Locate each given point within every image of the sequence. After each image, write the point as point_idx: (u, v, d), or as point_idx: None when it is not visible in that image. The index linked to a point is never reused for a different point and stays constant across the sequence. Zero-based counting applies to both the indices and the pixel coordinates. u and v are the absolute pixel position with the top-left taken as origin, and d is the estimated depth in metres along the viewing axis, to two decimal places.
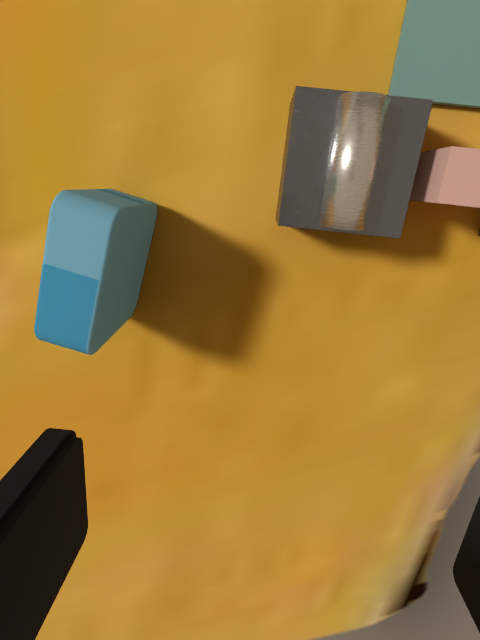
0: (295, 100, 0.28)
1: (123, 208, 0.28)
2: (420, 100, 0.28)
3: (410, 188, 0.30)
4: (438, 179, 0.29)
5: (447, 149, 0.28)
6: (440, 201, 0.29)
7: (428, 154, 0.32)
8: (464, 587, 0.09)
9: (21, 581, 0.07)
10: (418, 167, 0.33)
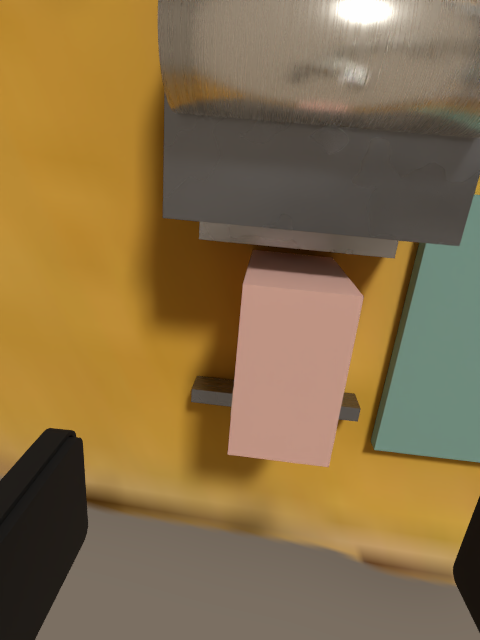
0: None
1: None
2: (462, 218, 0.12)
3: (275, 224, 0.13)
4: (293, 282, 0.13)
5: (354, 290, 0.13)
6: (246, 291, 0.13)
7: (335, 269, 0.16)
8: (464, 587, 0.09)
9: (21, 581, 0.07)
10: (310, 260, 0.18)
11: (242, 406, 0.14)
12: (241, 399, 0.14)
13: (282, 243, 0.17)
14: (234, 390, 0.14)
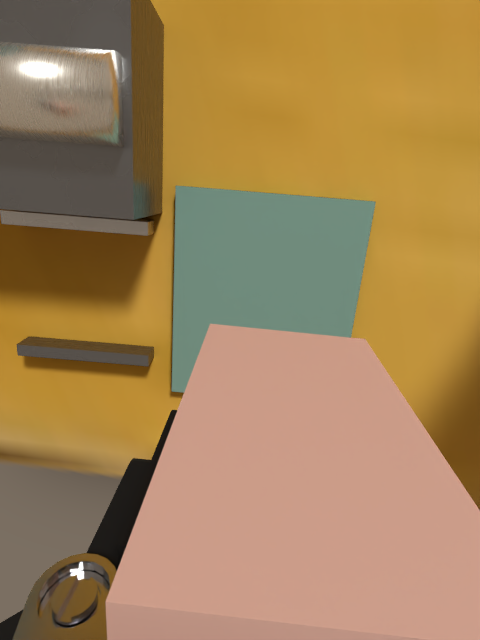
0: None
1: None
2: (130, 200, 0.18)
3: (7, 206, 0.19)
4: (297, 536, 0.04)
5: None
6: (121, 621, 0.03)
7: (391, 399, 0.07)
8: None
9: None
10: (325, 358, 0.08)
11: None
12: None
13: (63, 225, 0.23)
14: None
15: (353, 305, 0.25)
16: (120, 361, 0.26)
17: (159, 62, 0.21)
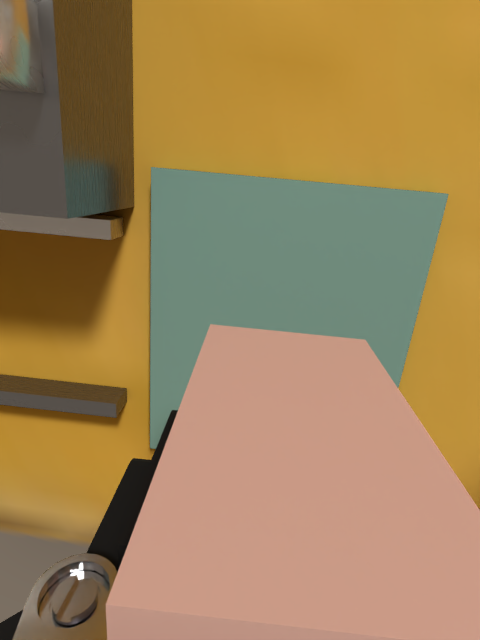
0: None
1: None
2: (60, 186, 0.11)
3: None
4: (298, 538, 0.04)
5: None
6: (122, 624, 0.03)
7: (391, 400, 0.07)
8: None
9: None
10: (326, 359, 0.08)
11: None
12: None
13: None
14: None
15: (405, 342, 0.17)
16: (78, 410, 0.19)
17: None
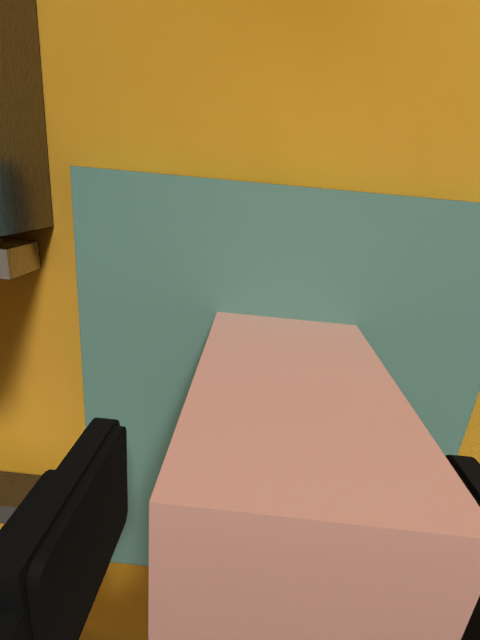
0: None
1: None
2: None
3: None
4: (294, 466, 0.05)
5: (460, 497, 0.05)
6: (160, 518, 0.04)
7: (376, 373, 0.08)
8: None
9: (82, 556, 0.07)
10: (320, 340, 0.10)
11: None
12: None
13: None
14: None
15: (460, 426, 0.12)
16: None
17: None
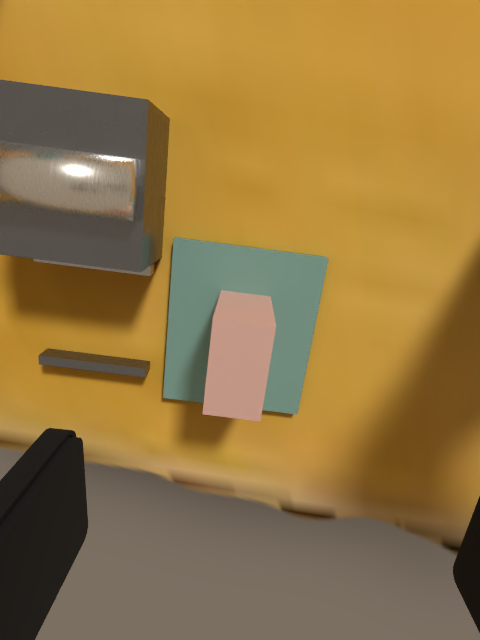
0: (131, 99, 0.22)
1: None
2: (139, 258, 0.25)
3: (46, 258, 0.25)
4: (240, 317, 0.25)
5: (272, 322, 0.24)
6: (214, 321, 0.24)
7: (268, 306, 0.28)
8: (464, 587, 0.09)
9: (21, 581, 0.07)
10: (255, 299, 0.29)
11: (211, 385, 0.25)
12: (210, 381, 0.25)
13: (83, 265, 0.29)
14: (207, 376, 0.25)
15: (310, 336, 0.31)
16: (122, 372, 0.32)
17: (165, 148, 0.27)
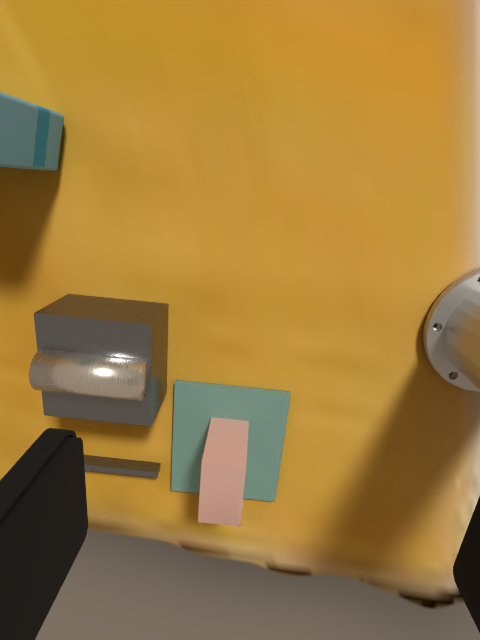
0: (140, 324, 0.32)
1: None
2: (149, 417, 0.35)
3: (85, 418, 0.35)
4: (221, 457, 0.35)
5: (244, 462, 0.34)
6: (202, 464, 0.34)
7: (244, 438, 0.38)
8: (464, 587, 0.09)
9: (21, 581, 0.07)
10: (236, 428, 0.39)
11: (203, 503, 0.35)
12: (202, 501, 0.35)
13: None
14: (199, 498, 0.35)
15: (280, 447, 0.41)
16: (140, 475, 0.43)
17: (165, 326, 0.37)
